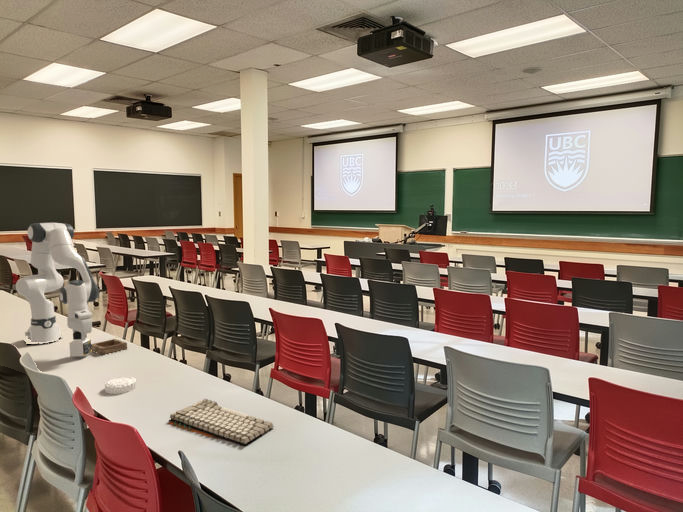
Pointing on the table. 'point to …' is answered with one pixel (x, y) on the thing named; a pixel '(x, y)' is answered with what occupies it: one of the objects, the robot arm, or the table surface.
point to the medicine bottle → (79, 345)
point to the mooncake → (120, 385)
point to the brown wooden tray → (109, 346)
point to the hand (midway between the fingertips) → (80, 339)
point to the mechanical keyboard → (220, 423)
